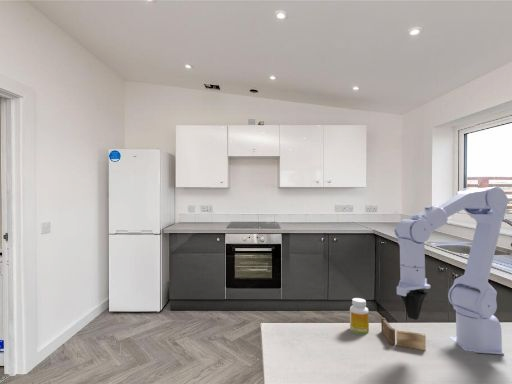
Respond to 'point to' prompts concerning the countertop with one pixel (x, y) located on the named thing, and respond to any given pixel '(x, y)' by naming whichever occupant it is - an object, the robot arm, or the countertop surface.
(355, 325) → the supplement bottle
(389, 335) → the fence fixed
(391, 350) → the countertop surface
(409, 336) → the wooden flat block
